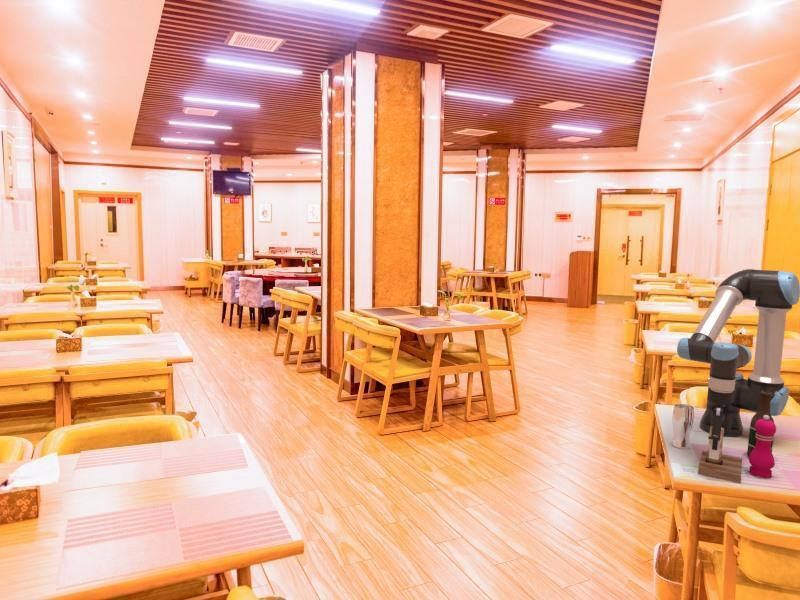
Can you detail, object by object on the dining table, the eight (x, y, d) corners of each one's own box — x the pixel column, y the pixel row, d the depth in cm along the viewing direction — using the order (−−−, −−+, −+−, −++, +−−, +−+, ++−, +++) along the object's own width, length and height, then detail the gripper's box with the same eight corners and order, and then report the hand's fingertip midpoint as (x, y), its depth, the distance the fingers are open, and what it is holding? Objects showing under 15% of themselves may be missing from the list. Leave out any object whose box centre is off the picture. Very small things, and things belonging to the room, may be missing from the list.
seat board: (702, 457, 204) (702, 450, 204) (741, 465, 198) (742, 457, 197) (697, 473, 190) (698, 466, 189) (740, 483, 183) (741, 475, 183)
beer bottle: (766, 454, 207) (773, 389, 204) (775, 463, 200) (783, 395, 197) (742, 452, 209) (749, 387, 206) (750, 461, 201) (758, 393, 198)
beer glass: (665, 442, 217) (669, 403, 215) (682, 441, 218) (685, 403, 216) (678, 449, 210) (682, 409, 208) (695, 448, 211) (699, 408, 210)
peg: (706, 464, 197) (710, 425, 195) (720, 467, 195) (724, 427, 193) (705, 469, 194) (709, 428, 192) (719, 472, 192) (723, 431, 190)
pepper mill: (777, 479, 186) (783, 419, 184) (752, 477, 188) (758, 417, 185) (767, 470, 194) (774, 412, 191) (744, 468, 195) (750, 410, 192)
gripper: (710, 380, 203) (705, 438, 206) (705, 396, 182) (699, 461, 185) (735, 383, 199) (729, 443, 202) (732, 401, 178) (726, 467, 181)
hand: (714, 452), depth 194 cm, fingers open, 13 cm apart
